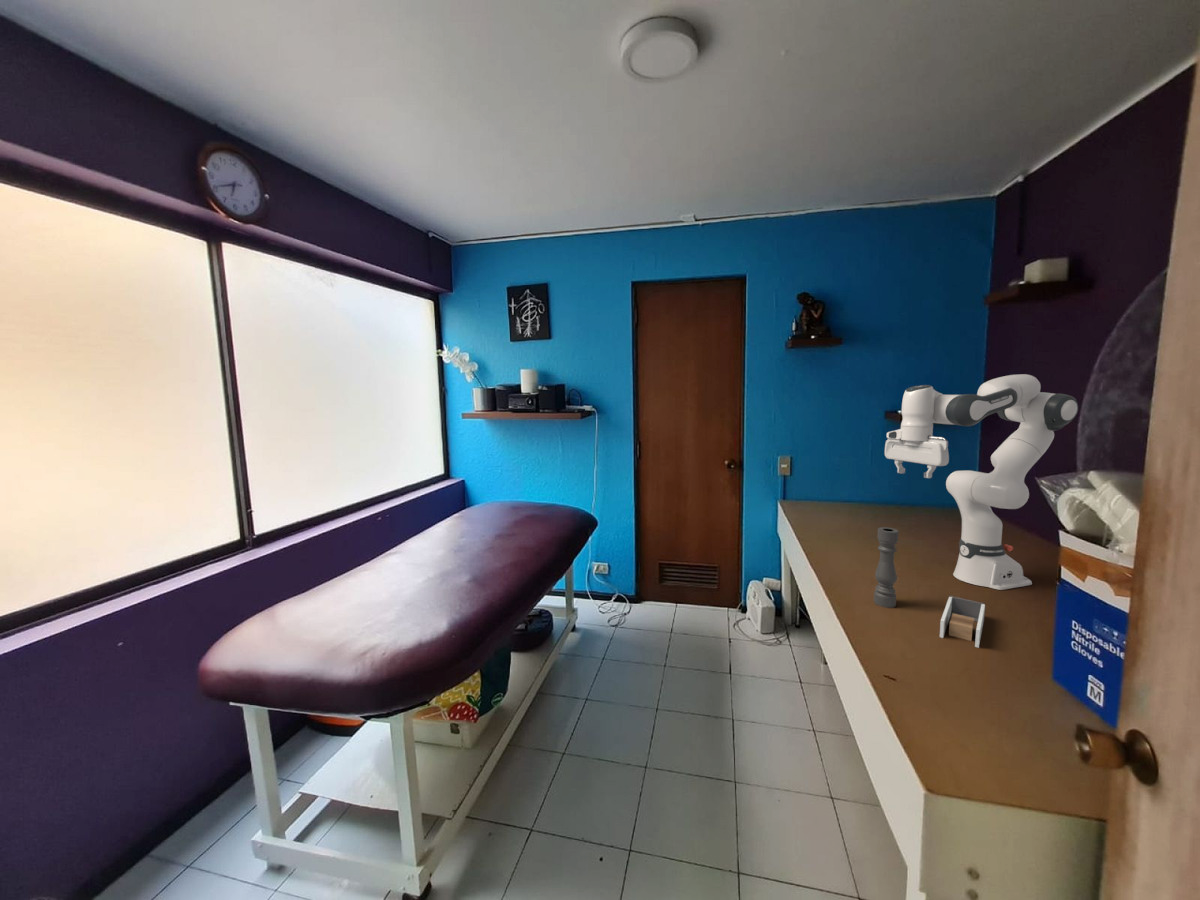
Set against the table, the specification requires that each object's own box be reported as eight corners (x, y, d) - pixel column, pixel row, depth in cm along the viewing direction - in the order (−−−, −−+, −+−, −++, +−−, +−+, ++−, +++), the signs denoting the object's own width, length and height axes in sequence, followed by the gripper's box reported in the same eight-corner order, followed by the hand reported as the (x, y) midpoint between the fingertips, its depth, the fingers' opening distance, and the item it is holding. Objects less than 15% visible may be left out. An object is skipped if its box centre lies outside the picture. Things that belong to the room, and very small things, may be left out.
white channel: (948, 610, 144) (949, 595, 144) (983, 619, 139) (985, 603, 138) (939, 637, 130) (940, 620, 129) (978, 647, 124) (980, 630, 123)
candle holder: (888, 609, 147) (892, 534, 143) (869, 601, 152) (872, 529, 149) (899, 604, 149) (903, 530, 146) (880, 597, 155) (884, 525, 152)
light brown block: (951, 625, 136) (952, 613, 135) (973, 631, 133) (974, 618, 132) (948, 635, 131) (949, 622, 130) (971, 641, 127) (972, 628, 127)
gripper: (955, 436, 143) (952, 480, 145) (895, 431, 163) (894, 470, 164) (940, 438, 141) (937, 481, 143) (882, 432, 161) (880, 471, 163)
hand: (914, 475), depth 154 cm, fingers open, 8 cm apart
